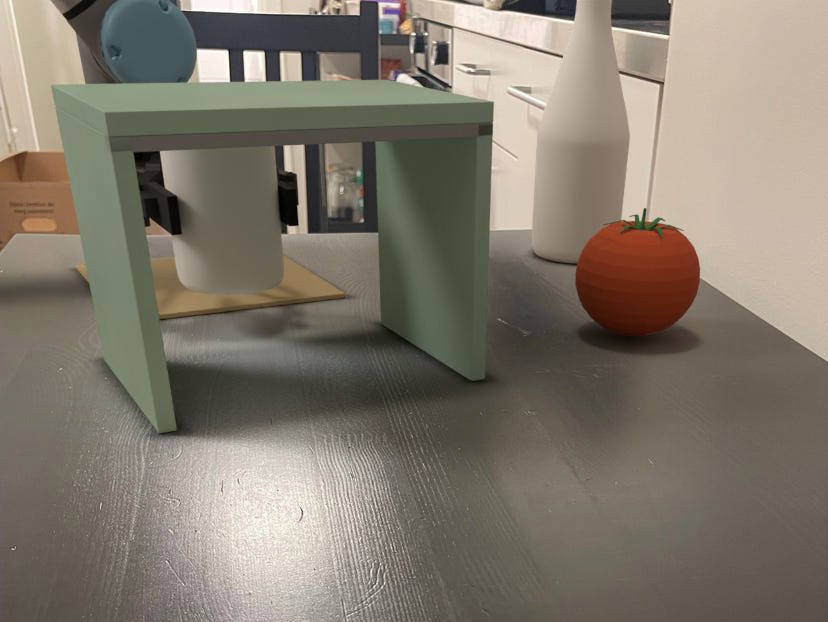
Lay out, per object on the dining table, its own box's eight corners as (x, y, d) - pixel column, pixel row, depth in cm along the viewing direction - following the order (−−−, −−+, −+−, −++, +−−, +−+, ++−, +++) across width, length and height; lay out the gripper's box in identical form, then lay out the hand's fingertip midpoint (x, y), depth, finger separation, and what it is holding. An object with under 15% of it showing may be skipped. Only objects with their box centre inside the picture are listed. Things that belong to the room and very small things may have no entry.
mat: (124, 323, 81) (123, 318, 81) (76, 269, 95) (75, 265, 95) (345, 297, 89) (344, 293, 89) (271, 251, 104) (270, 247, 103)
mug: (269, 259, 87) (257, 125, 81) (293, 293, 78) (282, 144, 72) (170, 263, 84) (151, 125, 78) (183, 299, 75) (162, 146, 69)
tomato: (597, 357, 77) (610, 223, 71) (553, 320, 85) (562, 197, 79) (712, 349, 80) (734, 219, 74) (659, 314, 88) (674, 195, 82)
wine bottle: (543, 266, 101) (565, -92, 84) (521, 246, 109) (538, -86, 92) (629, 264, 103) (668, -86, 86) (602, 244, 111) (633, -81, 94)
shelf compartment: (158, 434, 62) (104, 111, 52) (104, 360, 73) (50, 84, 63) (485, 379, 72) (494, 101, 62) (393, 322, 83) (387, 79, 73)
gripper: (273, 203, 97) (364, 251, 81) (48, 217, 88) (100, 275, 72) (266, 118, 93) (361, 152, 77) (29, 124, 84) (80, 164, 68)
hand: (235, 211), depth 74 cm, fingers closed on mug, 9 cm apart
